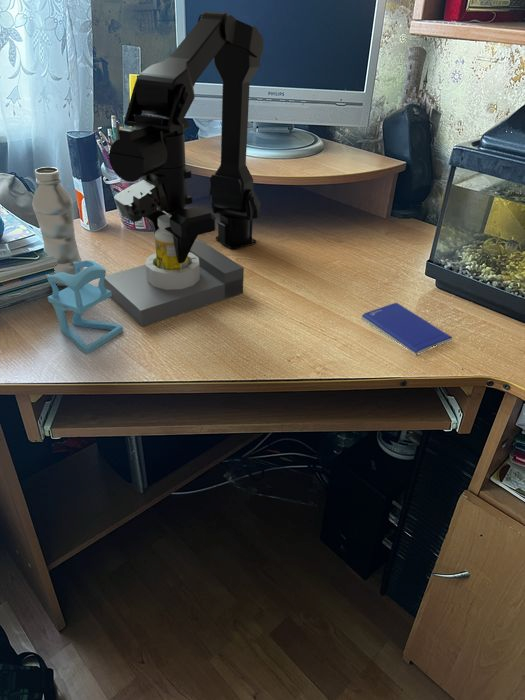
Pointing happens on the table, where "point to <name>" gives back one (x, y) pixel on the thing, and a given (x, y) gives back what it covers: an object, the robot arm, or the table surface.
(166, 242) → the supplement bottle
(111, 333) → the chair
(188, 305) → the grey ring holder base
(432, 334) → the hard drive
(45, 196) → the plastic bottle
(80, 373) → the table surface
